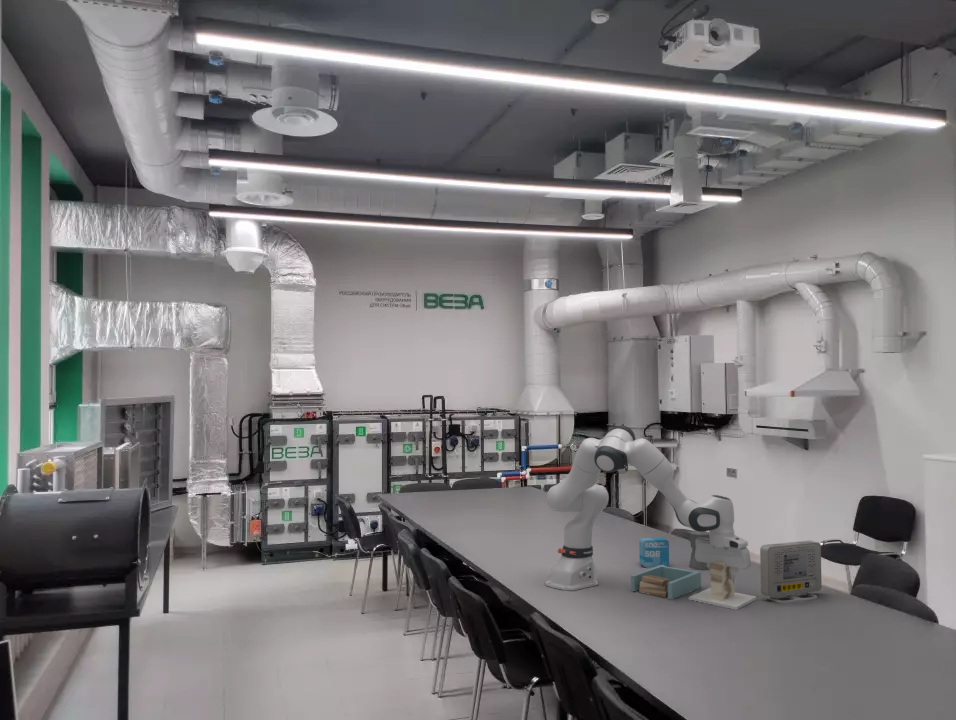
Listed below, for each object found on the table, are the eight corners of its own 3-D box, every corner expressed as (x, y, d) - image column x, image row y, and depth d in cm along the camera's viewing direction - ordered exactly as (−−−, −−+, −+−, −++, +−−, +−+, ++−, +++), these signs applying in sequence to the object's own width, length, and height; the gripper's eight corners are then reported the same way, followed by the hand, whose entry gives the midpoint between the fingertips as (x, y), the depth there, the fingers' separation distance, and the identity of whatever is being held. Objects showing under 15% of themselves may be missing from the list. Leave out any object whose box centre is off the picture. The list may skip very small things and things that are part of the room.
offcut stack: (665, 598, 267) (665, 581, 267) (638, 592, 274) (638, 576, 275) (672, 595, 271) (671, 579, 271) (645, 589, 278) (645, 574, 278)
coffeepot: (684, 569, 311) (683, 527, 312) (685, 564, 320) (684, 523, 321) (721, 571, 307) (721, 529, 307) (721, 566, 316) (720, 525, 316)
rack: (671, 600, 264) (671, 583, 265) (631, 591, 276) (630, 575, 276) (700, 587, 282) (700, 571, 282) (661, 579, 293) (661, 564, 294)
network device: (809, 591, 276) (808, 539, 277) (827, 597, 268) (826, 543, 269) (756, 598, 267) (755, 544, 268) (774, 604, 259) (773, 548, 260)
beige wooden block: (721, 601, 260) (721, 564, 260) (711, 598, 262) (710, 562, 263) (734, 594, 268) (733, 559, 268) (723, 592, 271) (723, 557, 271)
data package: (643, 568, 313) (643, 540, 314) (639, 565, 317) (639, 538, 318) (669, 567, 315) (669, 539, 315) (665, 564, 319) (664, 537, 320)
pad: (736, 610, 252) (736, 607, 252) (688, 599, 264) (688, 597, 265) (756, 599, 266) (756, 596, 266) (710, 590, 278) (710, 587, 278)
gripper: (691, 537, 271) (692, 574, 270) (745, 544, 257) (745, 584, 256) (699, 534, 275) (699, 571, 275) (752, 542, 262) (752, 580, 261)
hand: (722, 577), depth 265 cm, fingers open, 6 cm apart
